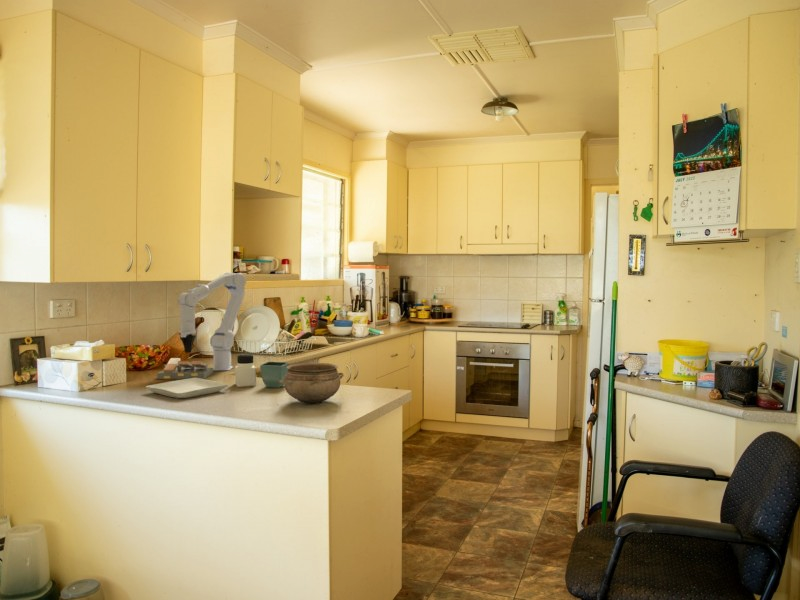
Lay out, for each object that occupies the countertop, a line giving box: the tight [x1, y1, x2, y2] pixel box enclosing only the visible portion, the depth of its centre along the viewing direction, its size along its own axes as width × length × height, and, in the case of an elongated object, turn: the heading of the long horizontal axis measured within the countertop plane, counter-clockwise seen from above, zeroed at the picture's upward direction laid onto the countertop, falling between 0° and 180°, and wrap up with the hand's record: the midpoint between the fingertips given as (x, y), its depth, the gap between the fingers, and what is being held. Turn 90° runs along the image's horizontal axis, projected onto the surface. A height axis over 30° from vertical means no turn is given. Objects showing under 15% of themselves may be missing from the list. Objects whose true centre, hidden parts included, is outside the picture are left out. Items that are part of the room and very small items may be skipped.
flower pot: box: [259, 361, 290, 389], centre depth 240 cm, size 9×9×9 cm
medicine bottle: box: [234, 353, 257, 388], centre depth 243 cm, size 7×7×12 cm
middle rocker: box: [178, 360, 192, 368], centre depth 263 cm, size 10×4×1 cm, turn 2°
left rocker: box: [163, 357, 182, 372], centre depth 262 cm, size 10×4×1 cm, turn 3°
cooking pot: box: [279, 362, 344, 405], centre depth 212 cm, size 25×19×12 cm
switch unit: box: [156, 364, 214, 380], centre depth 263 cm, size 14×19×5 cm
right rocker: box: [190, 360, 207, 368], centre depth 263 cm, size 10×4×1 cm, turn 3°
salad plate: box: [145, 378, 228, 399], centre depth 228 cm, size 21×21×3 cm
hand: (188, 352), depth 266 cm, fingers closed
